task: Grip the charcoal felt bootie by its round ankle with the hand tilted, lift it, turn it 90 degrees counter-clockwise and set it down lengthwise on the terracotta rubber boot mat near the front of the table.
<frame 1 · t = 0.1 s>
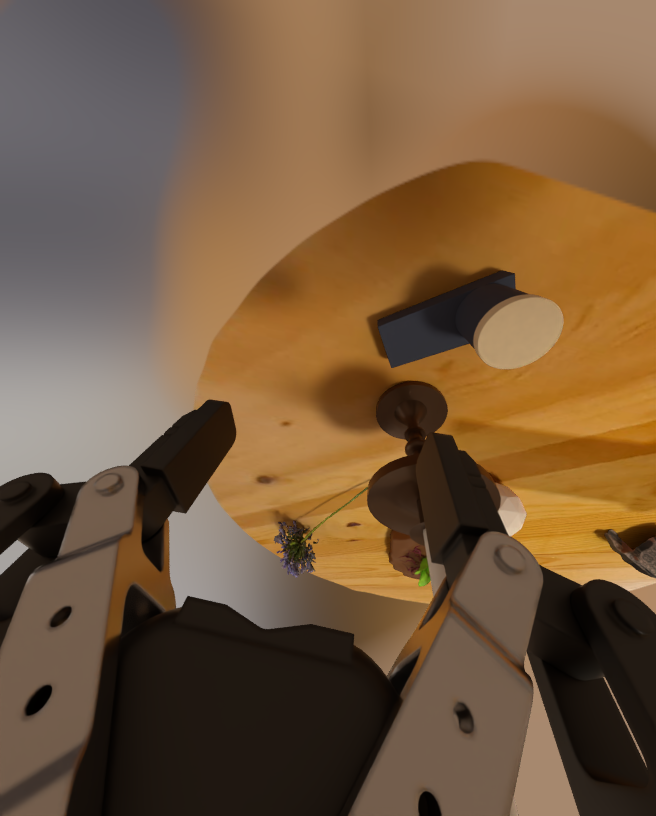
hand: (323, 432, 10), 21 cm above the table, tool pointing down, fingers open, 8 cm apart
plant: (433, 547, 52), on the table
grey patterned crumpled piece: (635, 535, 40), on the table
flower: (322, 506, 50), on the table
geometric ball: (482, 486, 39), on the table
candlestick: (409, 409, 33), on the table
bootie: (439, 320, 26), on the table
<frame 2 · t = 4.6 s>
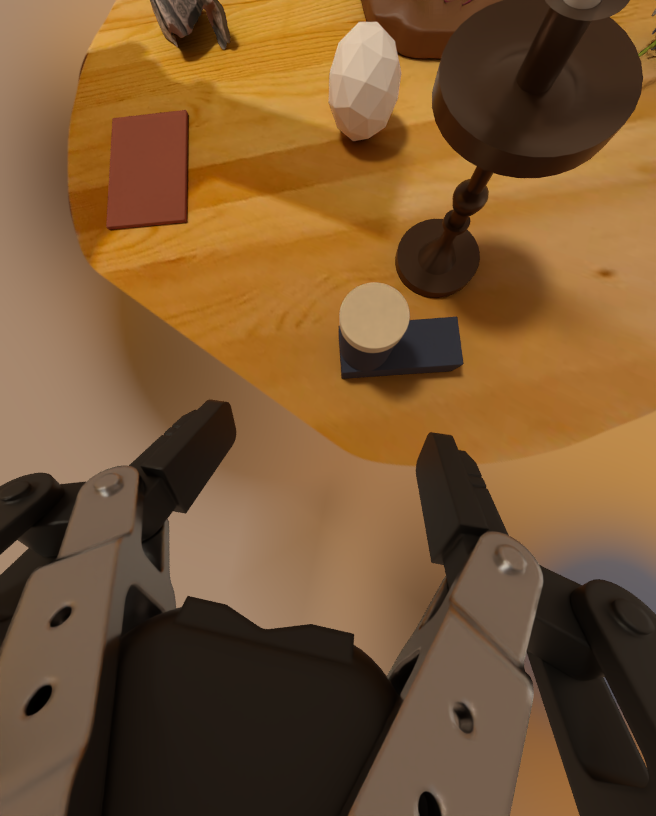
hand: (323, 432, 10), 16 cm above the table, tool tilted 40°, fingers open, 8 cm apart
plant: (433, 3, 32), on the table
boot mat: (149, 170, 31), on the table
grey patterned crumpled piece: (199, 39, 33), on the table
geometric ball: (360, 133, 30), on the table
candlestick: (434, 262, 28), on the table
bootie: (394, 353, 27), on the table
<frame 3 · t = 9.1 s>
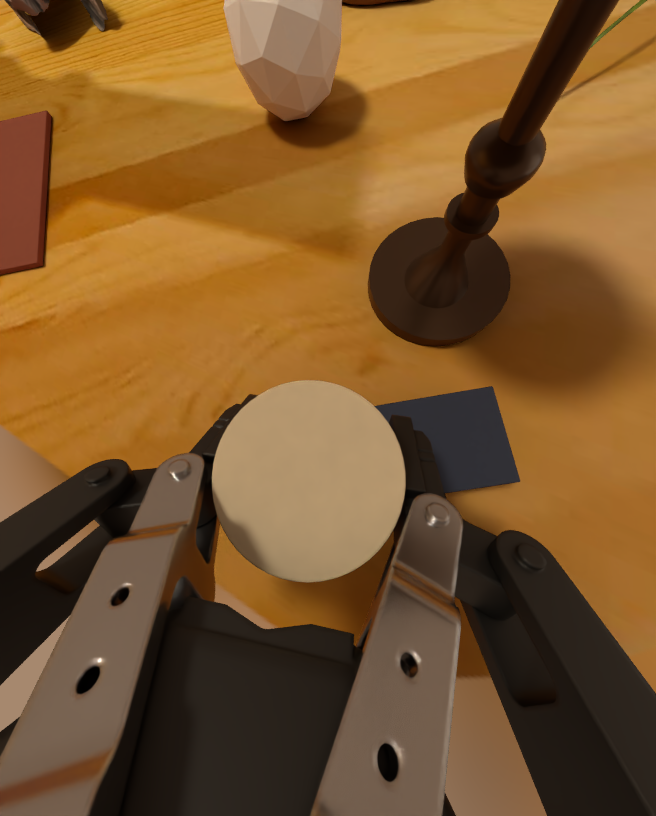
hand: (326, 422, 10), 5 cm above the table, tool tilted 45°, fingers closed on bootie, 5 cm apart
grey patterned crumpled piece: (71, 23, 24), on the table
geometric ball: (297, 111, 20), on the table
candlestick: (432, 287, 17), on the table
bootie: (383, 450, 15), on the table, touching gripper
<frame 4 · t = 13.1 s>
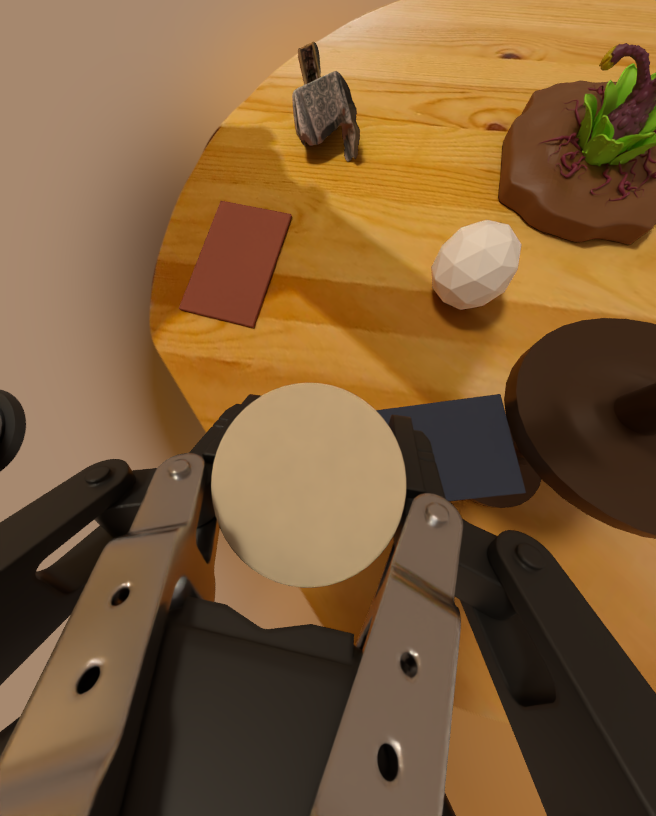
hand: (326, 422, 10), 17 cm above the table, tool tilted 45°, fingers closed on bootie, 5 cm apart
plant: (578, 174, 30), on the table
boot mat: (237, 262, 31), on the table
grey patterned crumpled piece: (327, 142, 33), on the table
geometric ball: (454, 292, 29), on the table
candlestick: (485, 459, 25), point 1 cm above the table
bootie: (386, 455, 15), point 12 cm above the table, touching gripper
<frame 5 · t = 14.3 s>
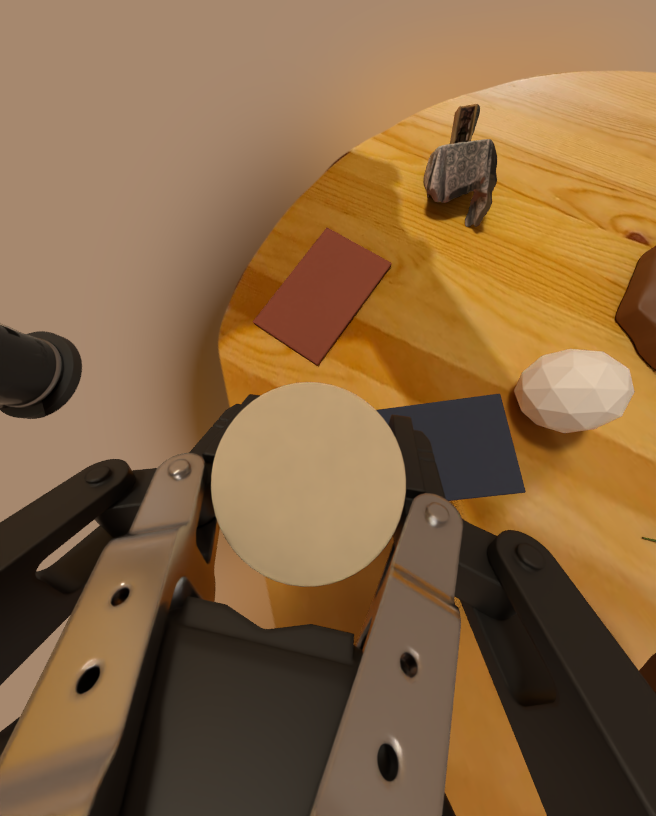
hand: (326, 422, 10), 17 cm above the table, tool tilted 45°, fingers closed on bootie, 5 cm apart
boot mat: (322, 294, 30), on the table
grey patterned crumpled piece: (451, 200, 31), on the table
geometric ball: (534, 399, 27), on the table
candlestick: (505, 588, 23), on the table
bootie: (386, 454, 15), point 12 cm above the table, touching gripper
when the fingers open (6 cm above the table, at t = 20.9 s): bootie stays where it is, resting on boot mat.
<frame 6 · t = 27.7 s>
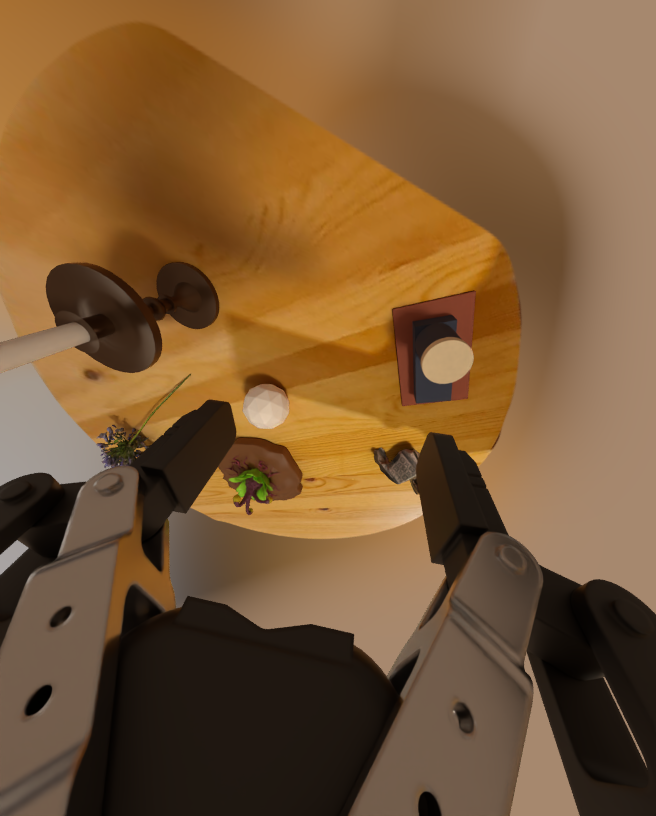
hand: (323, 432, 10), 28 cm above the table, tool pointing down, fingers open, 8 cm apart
plant: (261, 466, 57), on the table
boot mat: (432, 356, 36), on the table
grey patterned crumpled piece: (400, 455, 48), on the table
flower: (154, 412, 52), on the table
geometric ball: (274, 394, 44), on the table
candlestick: (191, 296, 36), on the table
bootie: (430, 359, 35), resting on boot mat
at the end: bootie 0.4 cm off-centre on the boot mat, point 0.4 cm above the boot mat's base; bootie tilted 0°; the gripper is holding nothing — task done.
